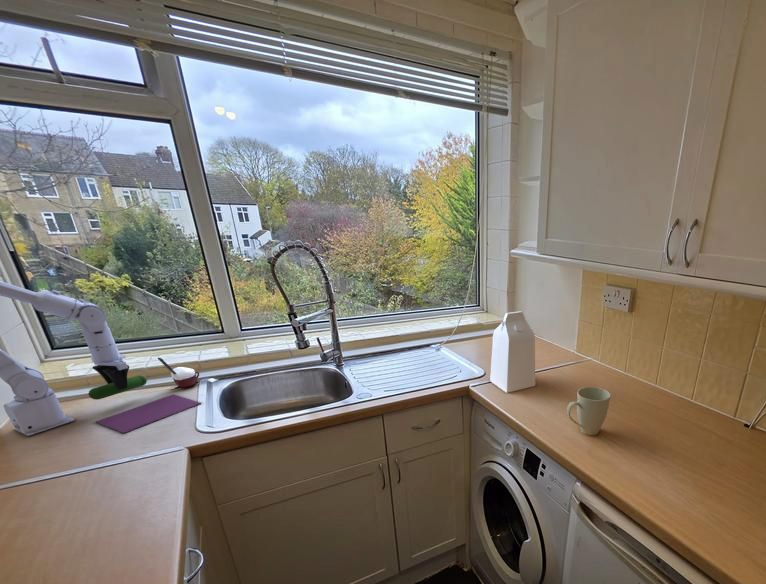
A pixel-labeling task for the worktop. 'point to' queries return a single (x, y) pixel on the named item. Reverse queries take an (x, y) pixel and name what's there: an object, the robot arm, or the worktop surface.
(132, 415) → the towel
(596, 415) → the mug
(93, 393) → the cucumber
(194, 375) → the cocoa
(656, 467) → the worktop surface
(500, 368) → the milk
